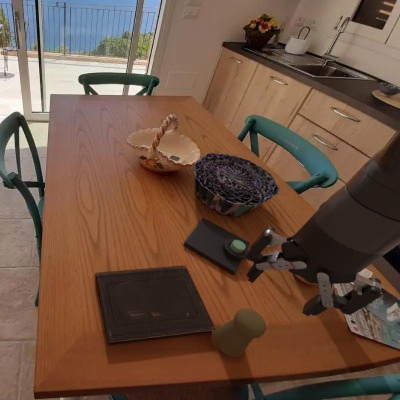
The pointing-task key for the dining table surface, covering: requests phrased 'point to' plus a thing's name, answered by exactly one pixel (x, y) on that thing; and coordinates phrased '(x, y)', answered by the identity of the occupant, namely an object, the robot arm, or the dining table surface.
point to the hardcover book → (151, 305)
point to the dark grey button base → (216, 245)
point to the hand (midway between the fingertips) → (277, 293)
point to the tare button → (237, 246)
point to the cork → (239, 332)
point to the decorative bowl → (232, 183)
